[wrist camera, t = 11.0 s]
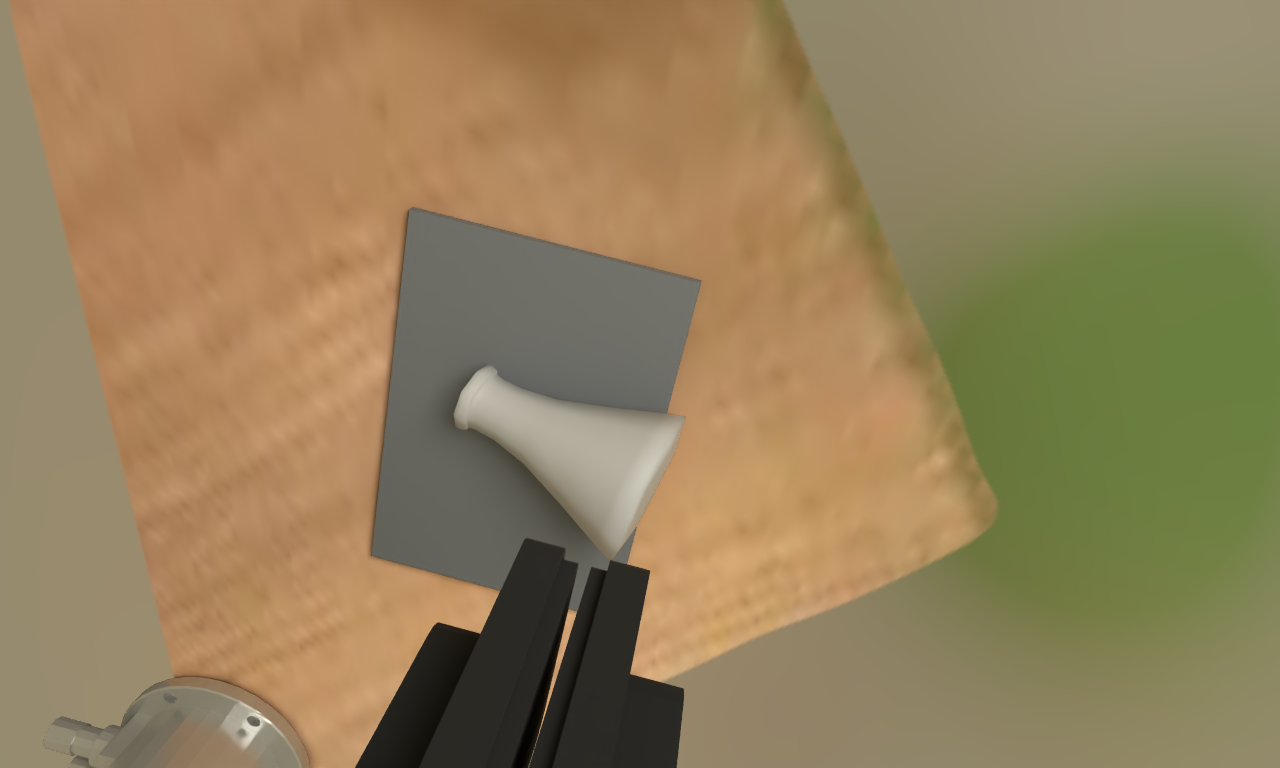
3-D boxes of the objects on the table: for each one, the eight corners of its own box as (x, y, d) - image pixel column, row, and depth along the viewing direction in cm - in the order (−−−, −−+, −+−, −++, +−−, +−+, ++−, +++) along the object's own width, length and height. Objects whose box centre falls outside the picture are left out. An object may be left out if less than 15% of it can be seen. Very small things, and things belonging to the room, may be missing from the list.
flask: (602, 589, 39) (421, 488, 40) (661, 489, 44) (499, 403, 45) (643, 494, 34) (435, 383, 35) (703, 395, 39) (520, 302, 41)
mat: (375, 550, 47) (371, 556, 47) (413, 207, 39) (409, 209, 39) (613, 614, 47) (611, 620, 46) (701, 280, 39) (700, 283, 38)
